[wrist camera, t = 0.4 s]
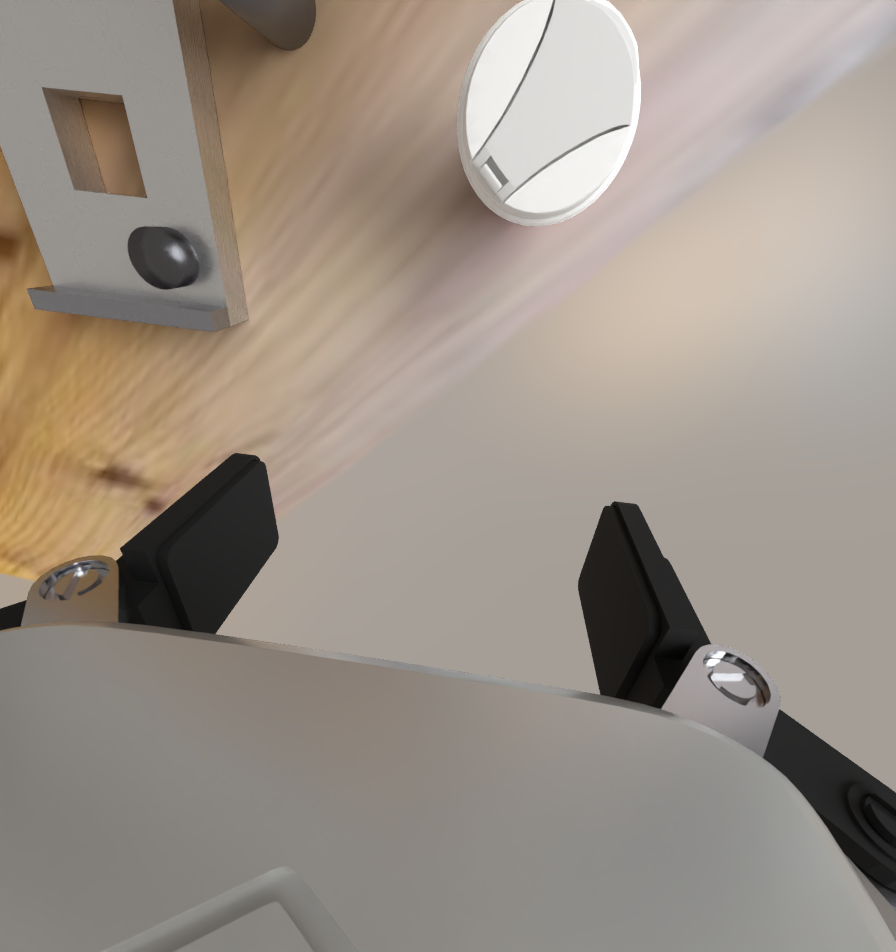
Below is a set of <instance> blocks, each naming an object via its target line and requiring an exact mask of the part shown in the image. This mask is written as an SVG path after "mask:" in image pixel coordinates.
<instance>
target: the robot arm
mask: <svg viewBox="0 0 896 952" xmlns="http://www.w3.org/2000/svg"><path fill="white" fill-rule="evenodd" d="M278 537H279V536H278V531H277V525H276V519H275V514H274V508H273V503H272V497H271V492H270V486H269V481H268V475H267V470H266V465H265V463H264V462H262V461H260V459H259V458H258V457H257V456H255V455H247V454H239V453H234V454H233V455H231V456H230V457H229V458H228V459H226V460H225V461H224V462H223V463H222V464H220V465H219V466H218V467H217V468H216V469H214V470H213V471H212V472H211V473H210V474H208V475H207V476H206V477H205V478H204V479H202V480H201V481H200V482H199V483H198V484H196V485H195V486H194V487H193V488H192V489H191V490H189V491H188V492H187V493H186V494H185V495H183V496H182V497H181V498H180V499H179V500H177V501H176V502H175V503H174V504H173V505H171V506H170V507H169V508H168V509H167V510H165V511H164V512H163V513H162V514H161V515H159V516H158V517H157V518H156V519H155V520H153V521H152V522H151V523H150V524H149V525H147V526H146V527H145V528H144V529H143V530H141V531H140V532H139V533H138V534H137V535H136V536H134V537H133V538H132V539H131V540H130V541H128V542H127V543H126V544H125V545H124V546H122V547H121V548H120V550H121V552H122V554H123V555H122V556H121V557H120V558H119V559H118V560H117V561H115V560H114V559H112V558H111V557H107V556H102V555H100V556H86V557H81V558H77V559H74V560H71V561H68V562H65V563H63V564H61V565H58V566H56V567H54V568H52V569H51V570H49V571H48V572H46V573H45V574H43V575H42V576H40V577H39V578H38V580H37V581H36V582H35V583H34V584H33V585H32V587H31V589H30V591H29V593H28V597H27V600H25V601H23V602H19V603H16V604H13V605H10V606H7V607H4V608H1V609H0V952H896V793H895V792H894V791H892V790H891V789H890V788H889V787H887V786H886V785H884V784H883V783H882V782H880V781H879V780H877V779H876V778H875V777H873V776H872V775H870V774H869V773H868V772H866V771H865V770H863V769H862V768H861V767H859V766H858V765H857V764H855V763H854V762H852V761H851V760H849V759H848V758H847V757H845V756H844V755H842V754H841V753H840V752H838V751H837V750H836V749H834V748H833V747H831V746H830V745H829V744H827V743H826V742H824V741H823V740H822V739H820V738H819V737H817V736H816V735H815V734H813V733H812V732H810V731H809V730H808V729H806V728H805V727H804V726H802V725H801V724H799V723H798V722H796V721H795V720H794V719H792V718H791V717H790V716H788V715H787V714H785V713H784V712H783V711H781V710H780V709H779V708H780V694H779V692H778V689H777V686H776V685H775V683H774V682H773V680H772V679H771V677H770V676H769V675H768V673H766V671H765V670H764V669H762V667H761V666H760V665H759V664H757V663H756V662H755V661H753V660H751V659H750V658H749V657H747V656H746V655H744V654H743V653H741V652H739V651H737V650H735V649H732V648H729V647H726V646H723V645H714V644H711V643H710V641H709V639H708V637H707V635H706V633H705V631H704V629H703V627H702V625H701V623H700V621H699V619H698V617H697V615H696V613H695V611H694V609H693V607H692V605H691V603H690V601H689V599H688V597H687V596H686V593H685V591H684V589H683V587H682V585H681V583H680V581H679V579H678V577H677V576H676V573H675V572H674V569H673V567H672V565H671V564H670V562H669V561H668V560H667V559H666V558H664V557H663V555H662V553H661V551H660V549H659V547H658V545H657V543H656V541H655V539H654V537H653V535H652V533H651V531H650V529H649V527H648V524H647V523H646V521H645V518H644V516H643V514H642V512H641V510H640V509H639V507H638V505H636V504H631V503H623V502H613V503H612V504H611V506H605V507H604V508H603V511H602V514H601V516H600V519H599V522H598V525H597V528H596V531H595V534H594V537H593V539H592V543H591V545H590V548H589V551H588V554H587V557H586V560H585V563H584V565H583V568H582V571H581V574H580V577H579V582H578V591H579V595H580V600H581V605H582V610H583V615H584V619H585V624H586V629H587V633H588V638H589V643H590V648H591V652H592V657H593V662H594V666H595V671H596V676H597V680H598V685H599V690H600V695H598V694H592V693H587V692H581V691H575V690H570V689H564V688H558V687H552V686H547V685H541V684H535V683H528V682H523V681H516V680H510V679H504V678H497V677H491V676H484V675H479V674H472V673H466V672H460V671H453V670H447V669H441V668H435V667H428V666H422V665H415V664H408V663H402V662H396V661H389V660H383V659H376V658H370V657H363V656H357V655H350V654H343V653H336V652H330V651H324V650H317V649H311V648H303V647H297V646H291V645H284V644H277V643H270V642H264V641H256V640H250V639H243V638H236V637H229V636H223V635H216V634H215V633H216V632H217V630H218V629H219V628H220V626H221V625H222V624H223V622H224V621H225V619H226V618H227V616H228V615H229V614H230V612H231V611H232V609H233V608H234V607H235V605H236V604H237V602H238V601H239V599H240V598H241V597H242V595H243V594H244V593H245V591H246V590H247V588H248V587H249V585H250V584H251V583H252V581H253V580H254V578H255V577H256V576H257V574H258V573H259V571H260V570H261V568H262V567H263V566H264V564H265V563H266V561H267V560H268V559H269V557H270V556H271V554H272V553H273V552H274V550H275V549H276V547H277V544H278V539H279V538H278Z"/></svg>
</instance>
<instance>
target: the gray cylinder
mask: <svg viewBox="0 0 896 952" xmlns="http://www.w3.org/2000/svg"><path fill="white" fill-rule="evenodd" d="M220 1H221V2H222V3H224V4H225V5H226V6H227V7H228V8H230V9H231V10H232V11H233V12H235V13H236V14H237V15H238V16H240V17H241V18H242V19H243V20H244V21H246V22H247V23H248V24H249V25H251V26H252V27H253V28H254V29H256V30H257V31H258V32H259V33H260V34H262V35H263V36H264V37H265V38H267V39H268V40H269V41H270V42H271V43H273V44H274V45H275V46H277V47H279V48H281V49H284V50H295V49H298V48H300V47H301V46H303V45H304V44H305V43H306V42H307V40H308V39H309V37H310V36H311V33H312V31H313V28H314V24H315V17H316V5H315V0H220Z"/></svg>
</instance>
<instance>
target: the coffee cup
mask: <svg viewBox="0 0 896 952" xmlns="http://www.w3.org/2000/svg"><path fill="white" fill-rule="evenodd" d="M640 101H641V82H640V72H639V60H638V45H637V42H636V40H635V38H634V35H633V33H632V31H631V28H630V27H629V25H628V24H627V22H626V21H625V19H624V18H623V16H622V15H621V13H620V12H619V11H618V10H617V9H616V8H615V7H614V6H613V5H612V4H611V3H610V2H608V1H605V0H523V1H522V2H520V3H518V4H516V5H515V6H513V7H512V8H511V9H510V10H509V11H507V12H506V13H505V14H504V15H503V16H501V17H500V18H499V19H498V20H497V22H496V23H495V24H494V25H493V26H492V27H491V28H490V30H489V31H488V32H487V33H486V35H485V36H484V38H483V39H482V41H481V42H480V44H479V45H478V47H477V49H476V51H475V53H474V55H473V57H472V59H471V61H470V63H469V65H468V68H467V71H466V74H465V77H464V80H463V83H462V87H461V92H460V96H459V101H458V110H457V141H458V147H459V154H460V158H461V161H462V165H463V168H464V171H465V173H466V176H467V178H468V180H469V183H470V185H471V186H472V188H473V189H474V191H475V193H476V194H477V196H478V197H479V198H480V199H481V200H482V202H483V203H484V204H485V205H486V206H487V207H488V208H489V209H491V210H492V211H493V212H494V213H495V214H497V215H498V216H500V217H502V218H504V219H506V220H507V221H510V222H513V223H516V224H519V225H524V226H532V227H534V226H547V225H552V224H556V223H560V222H562V221H564V220H567V219H569V218H572V217H573V216H575V215H577V214H578V213H580V212H581V211H583V210H585V209H586V208H587V207H588V206H589V205H591V204H592V203H593V202H594V201H596V200H597V199H598V197H599V196H600V195H601V194H602V193H603V192H604V191H605V190H606V189H607V188H608V186H609V185H610V183H611V182H612V181H613V179H614V178H615V177H616V175H617V174H618V172H619V170H620V168H621V166H622V164H623V163H624V161H625V159H626V157H627V154H628V152H629V149H630V147H631V144H632V142H633V138H634V135H635V131H636V127H637V124H638V117H639V111H640Z"/></svg>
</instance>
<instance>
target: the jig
mask: <svg viewBox="0 0 896 952" xmlns="http://www.w3.org/2000/svg"><path fill="white" fill-rule="evenodd" d="M79 99H87V100H96V101H106V102H116V103H124V105H125V109H126V113H127V117H128V121H129V125H130V129H131V134H132V138H133V142H134V146H135V150H136V154H137V158H138V162H139V166H140V170H141V175H142V179H143V183H144V187H145V191H146V195H147V198H146V197H137V196H128V195H119V194H110V193H106V191H105V188H104V184H103V181H102V177H101V174H100V170H99V167H98V163H97V160H96V156H95V153H94V149H93V146H92V142H91V139H90V136H89V132H88V129H87V125H86V122H85V118H84V115H83V111H82V108H81V104H80V101H79ZM0 146H1V149H2V152H3V154H4V157H5V159H6V162H7V165H8V167H9V170H10V173H11V175H12V178H13V180H14V183H15V186H16V188H17V191H18V194H19V196H20V199H21V201H22V204H23V207H24V209H25V212H26V215H27V217H28V220H29V223H30V225H31V228H32V230H33V233H34V236H35V238H36V241H37V244H38V246H39V249H40V251H41V254H42V257H43V259H44V262H45V265H46V267H47V270H48V272H49V275H50V278H51V280H52V283H53V286H45V287H36V288H28V289H27V291H28V293H29V296H30V298H31V301H32V303H33V306H34V308H35V309H39V310H46V311H54V312H62V313H70V314H78V315H86V316H93V317H101V318H109V319H117V320H125V321H132V322H140V323H148V324H156V325H164V326H172V327H179V328H187V329H195V330H203V331H211V332H216V331H219V330H222V329H224V328H227V327H230V326H233V325H236V324H238V323H241V322H244V321H247V320H249V319H248V313H247V307H246V300H245V294H244V287H243V281H242V274H241V268H240V262H239V255H238V249H237V242H236V236H235V230H234V223H233V217H232V210H231V204H230V197H229V191H228V185H227V178H226V172H225V165H224V159H223V152H222V146H221V140H220V133H219V127H218V120H217V114H216V108H215V101H214V95H213V88H212V82H211V75H210V69H209V63H208V56H207V50H206V43H205V37H204V30H203V24H202V18H201V11H200V5H199V0H0Z"/></svg>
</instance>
